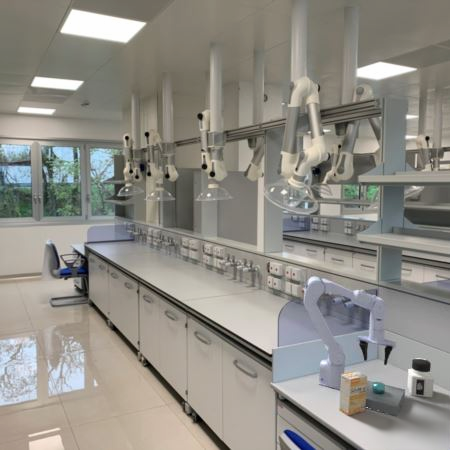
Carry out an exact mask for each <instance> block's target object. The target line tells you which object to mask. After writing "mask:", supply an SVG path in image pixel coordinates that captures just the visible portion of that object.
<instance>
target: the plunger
mask: <svg viewBox="0 0 450 450" xmlns="http://www.w3.org/2000/svg"><path fill="white" fill-rule="evenodd" d="M372 382H373V384H372V391H373V392H375V393H379V394H382V393H385V385H386V384H385V383H384V382H382V381H372Z"/></svg>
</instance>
